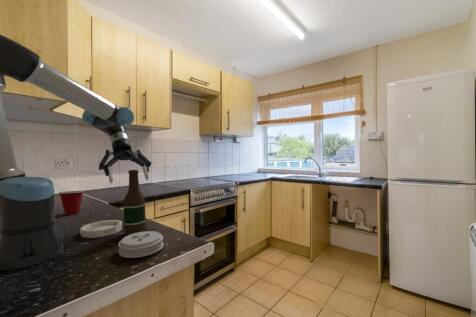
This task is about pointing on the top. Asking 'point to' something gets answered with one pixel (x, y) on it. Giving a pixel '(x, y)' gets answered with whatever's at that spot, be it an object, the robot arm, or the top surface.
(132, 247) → the lid
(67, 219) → the top surface
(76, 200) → the plastic cup
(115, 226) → the dish
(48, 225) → the robot arm
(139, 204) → the beer bottle
